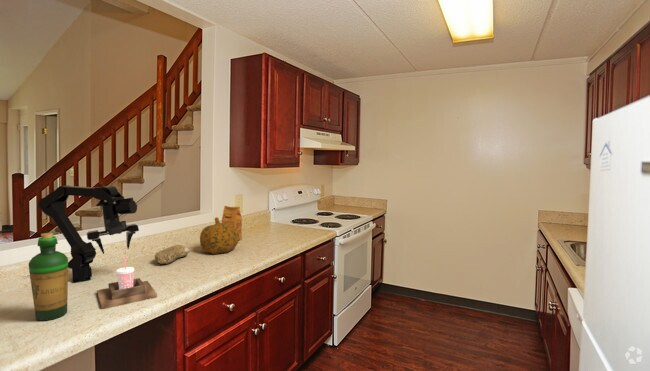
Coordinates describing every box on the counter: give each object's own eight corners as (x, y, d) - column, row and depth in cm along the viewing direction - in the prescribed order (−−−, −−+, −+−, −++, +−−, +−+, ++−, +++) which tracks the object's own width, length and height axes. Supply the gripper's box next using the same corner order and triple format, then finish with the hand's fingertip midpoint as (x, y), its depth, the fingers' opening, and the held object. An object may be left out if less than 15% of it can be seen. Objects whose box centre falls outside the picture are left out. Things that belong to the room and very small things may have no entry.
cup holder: (102, 309, 125) (101, 297, 125) (97, 293, 139) (96, 282, 139) (157, 297, 136) (156, 286, 135) (147, 283, 150) (147, 273, 150)
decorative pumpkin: (242, 252, 195) (238, 216, 193) (202, 259, 188) (197, 222, 186) (238, 245, 214) (234, 212, 212) (201, 251, 207) (197, 217, 205)
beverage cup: (129, 288, 142) (127, 253, 141) (138, 290, 139) (137, 255, 138) (113, 293, 136) (112, 257, 135) (123, 296, 133) (122, 259, 132)
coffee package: (228, 237, 235) (227, 204, 233) (244, 239, 230) (243, 205, 228) (218, 240, 225) (217, 206, 223) (235, 242, 221) (234, 207, 219)
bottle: (26, 325, 113) (20, 238, 110) (37, 311, 123) (32, 231, 120) (66, 319, 117) (62, 235, 115) (74, 306, 127) (70, 229, 124)
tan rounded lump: (175, 256, 195) (143, 258, 177) (179, 242, 195) (148, 243, 177) (192, 264, 189) (161, 267, 171) (196, 250, 189) (165, 251, 171)
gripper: (86, 221, 140) (92, 259, 141) (138, 213, 151) (143, 249, 152) (84, 218, 148) (89, 255, 150) (134, 211, 160) (138, 245, 161)
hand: (116, 251), depth 153 cm, fingers open, 9 cm apart
